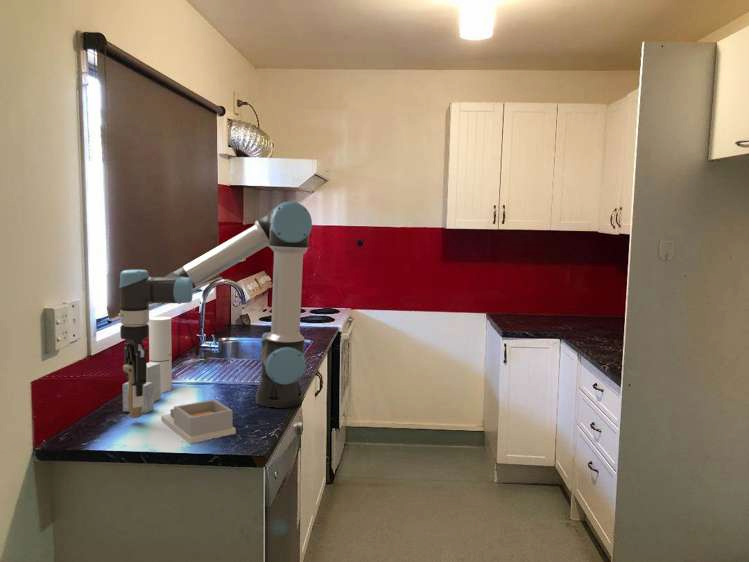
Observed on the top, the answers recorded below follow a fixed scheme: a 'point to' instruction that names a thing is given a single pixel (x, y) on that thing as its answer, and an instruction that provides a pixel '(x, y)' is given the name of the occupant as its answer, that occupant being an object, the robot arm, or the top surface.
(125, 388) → the medicine box
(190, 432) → the switch panel
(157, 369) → the skincare box
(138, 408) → the handle
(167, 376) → the cylindrical container
